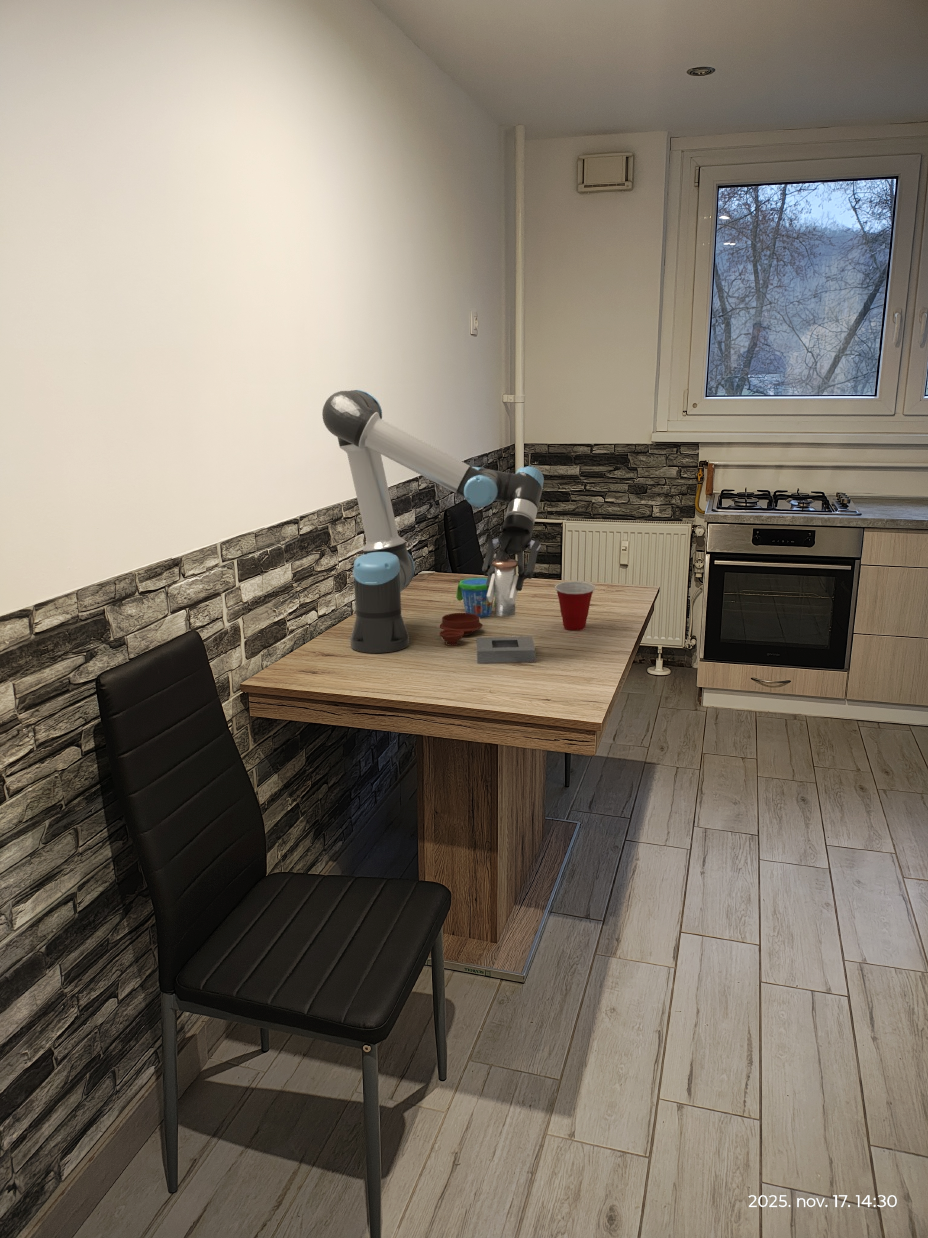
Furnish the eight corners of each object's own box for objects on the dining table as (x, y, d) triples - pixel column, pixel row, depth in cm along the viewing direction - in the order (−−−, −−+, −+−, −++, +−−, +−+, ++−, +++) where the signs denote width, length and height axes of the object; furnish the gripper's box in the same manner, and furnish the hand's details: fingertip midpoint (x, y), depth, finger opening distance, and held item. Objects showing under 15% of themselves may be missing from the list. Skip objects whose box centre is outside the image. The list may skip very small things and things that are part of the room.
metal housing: (477, 663, 214) (477, 651, 214) (476, 648, 226) (476, 637, 225) (535, 662, 214) (535, 650, 214) (531, 647, 226) (531, 636, 225)
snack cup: (447, 613, 262) (446, 579, 259) (474, 607, 268) (474, 574, 265) (481, 623, 250) (481, 588, 247) (509, 617, 256) (509, 582, 254)
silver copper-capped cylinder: (493, 616, 215) (493, 564, 211) (492, 610, 220) (492, 559, 217) (518, 616, 215) (518, 563, 211) (516, 610, 220) (516, 558, 217)
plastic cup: (553, 633, 239) (554, 589, 236) (554, 622, 249) (555, 580, 246) (594, 633, 237) (595, 589, 234) (594, 623, 248) (594, 581, 245)
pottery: (486, 628, 246) (486, 612, 245) (471, 648, 227) (471, 632, 226) (445, 626, 248) (444, 611, 247) (427, 646, 229) (426, 630, 228)
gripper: (556, 531, 224) (539, 610, 213) (488, 528, 230) (468, 605, 219) (552, 513, 218) (534, 594, 207) (482, 511, 224) (461, 589, 213)
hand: (500, 599), depth 213 cm, fingers closed on silver copper-capped cylinder, 5 cm apart
